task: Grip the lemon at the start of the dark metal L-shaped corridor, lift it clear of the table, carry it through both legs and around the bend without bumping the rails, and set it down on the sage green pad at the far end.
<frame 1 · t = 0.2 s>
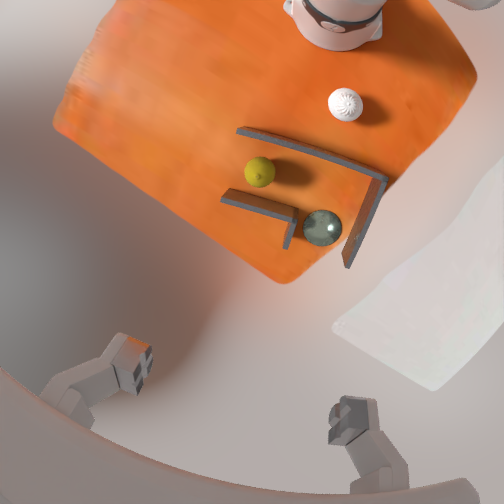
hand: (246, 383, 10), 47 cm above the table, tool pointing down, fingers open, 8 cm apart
white rounded piece: (342, 105, 44), on the table
rail corridor: (300, 191, 54), on the table
lemon: (263, 167, 53), on the table
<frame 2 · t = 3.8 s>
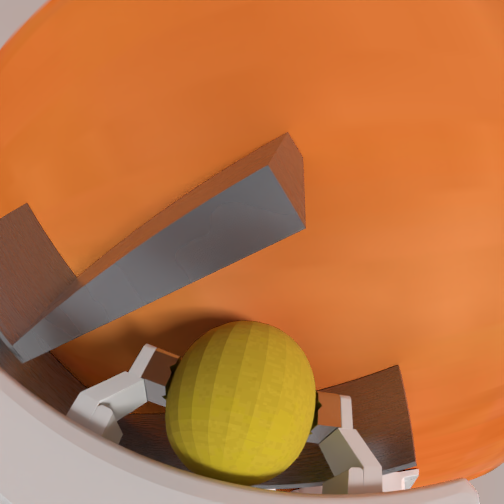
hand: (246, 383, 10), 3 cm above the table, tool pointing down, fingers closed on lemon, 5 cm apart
rail corridor: (122, 335, 15), on the table
lemon: (258, 327, 13), on the table, touching gripper
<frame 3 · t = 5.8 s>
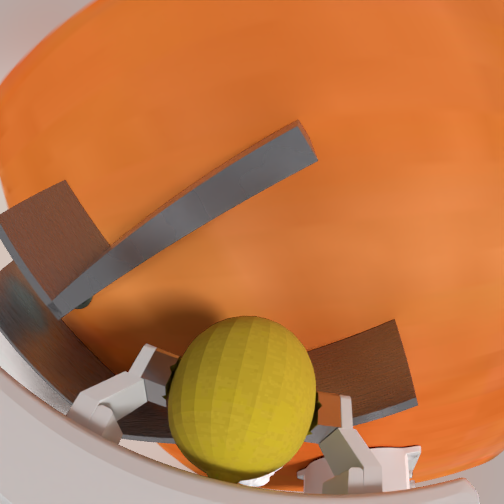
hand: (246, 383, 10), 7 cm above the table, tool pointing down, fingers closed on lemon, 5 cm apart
white rounded piece: (260, 429, 26), on the table
rail corridor: (149, 299, 18), on the table
lemon: (259, 323, 13), point 3 cm above the table, touching gripper
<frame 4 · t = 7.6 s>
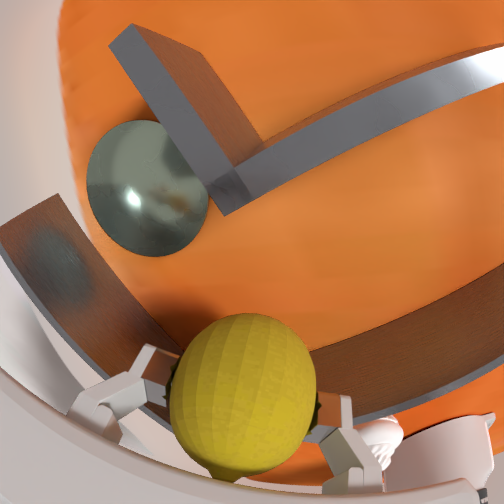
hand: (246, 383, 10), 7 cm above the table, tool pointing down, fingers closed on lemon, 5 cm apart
white rounded piece: (366, 408, 21), on the table
rail corridor: (306, 223, 14), on the table
lemon: (260, 321, 14), point 3 cm above the table, touching gripper
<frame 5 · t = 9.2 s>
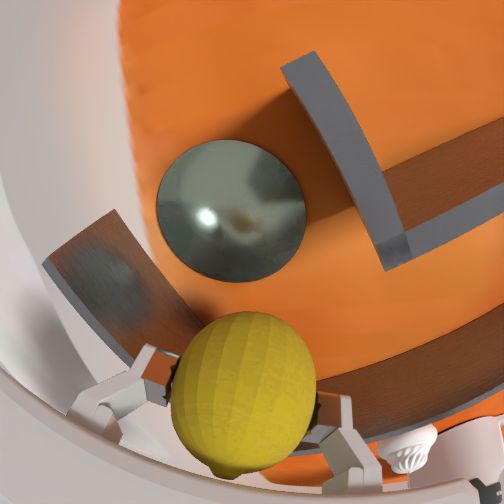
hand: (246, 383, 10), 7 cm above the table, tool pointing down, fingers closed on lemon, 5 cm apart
white rounded piece: (402, 412, 21), on the table
rail corridor: (390, 255, 14), on the table
lemon: (260, 319, 14), point 3 cm above the table, touching gripper
when the fingers open (5 cm above the table, at t = 11.4 s): lemon stays where it is, resting on rail corridor.
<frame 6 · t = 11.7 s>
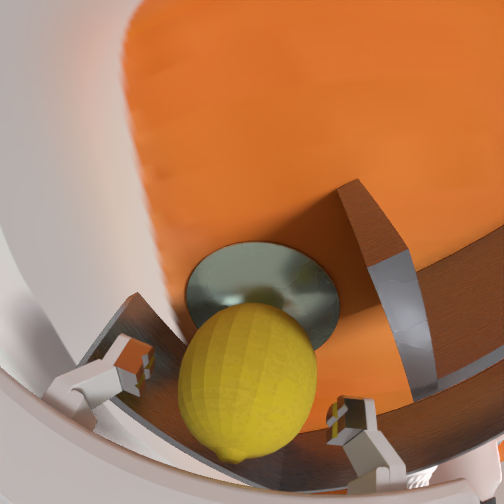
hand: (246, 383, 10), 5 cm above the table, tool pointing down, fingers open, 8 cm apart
white rounded piece: (408, 442, 21), on the table
rail corridor: (411, 338, 14), on the table
lemon: (263, 312, 14), resting on rail corridor
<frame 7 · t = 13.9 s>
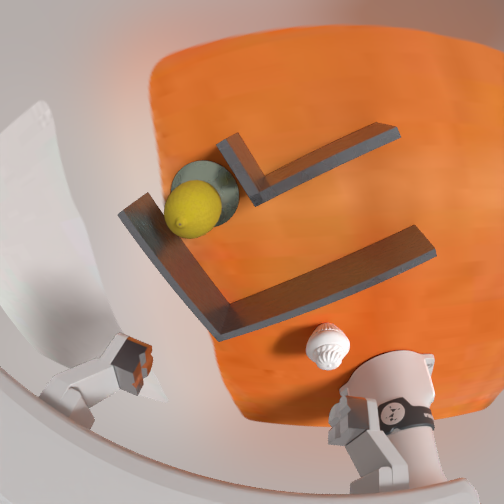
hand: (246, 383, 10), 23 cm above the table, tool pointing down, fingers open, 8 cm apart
white rounded piece: (325, 329, 39), on the table
rail corridor: (282, 211, 31), on the table
lemon: (205, 195, 31), resting on rail corridor
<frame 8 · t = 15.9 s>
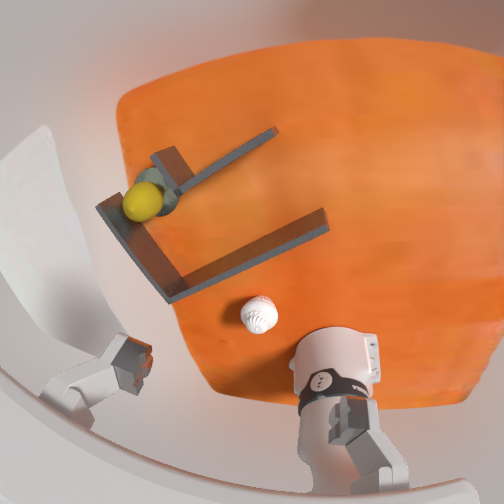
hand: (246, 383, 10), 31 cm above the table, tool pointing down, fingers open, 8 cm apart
white rounded piece: (262, 301, 48), on the table
rail corridor: (210, 202, 41), on the table
lemon: (156, 192, 41), resting on rail corridor
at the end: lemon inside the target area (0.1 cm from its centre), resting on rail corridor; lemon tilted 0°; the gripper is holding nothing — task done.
